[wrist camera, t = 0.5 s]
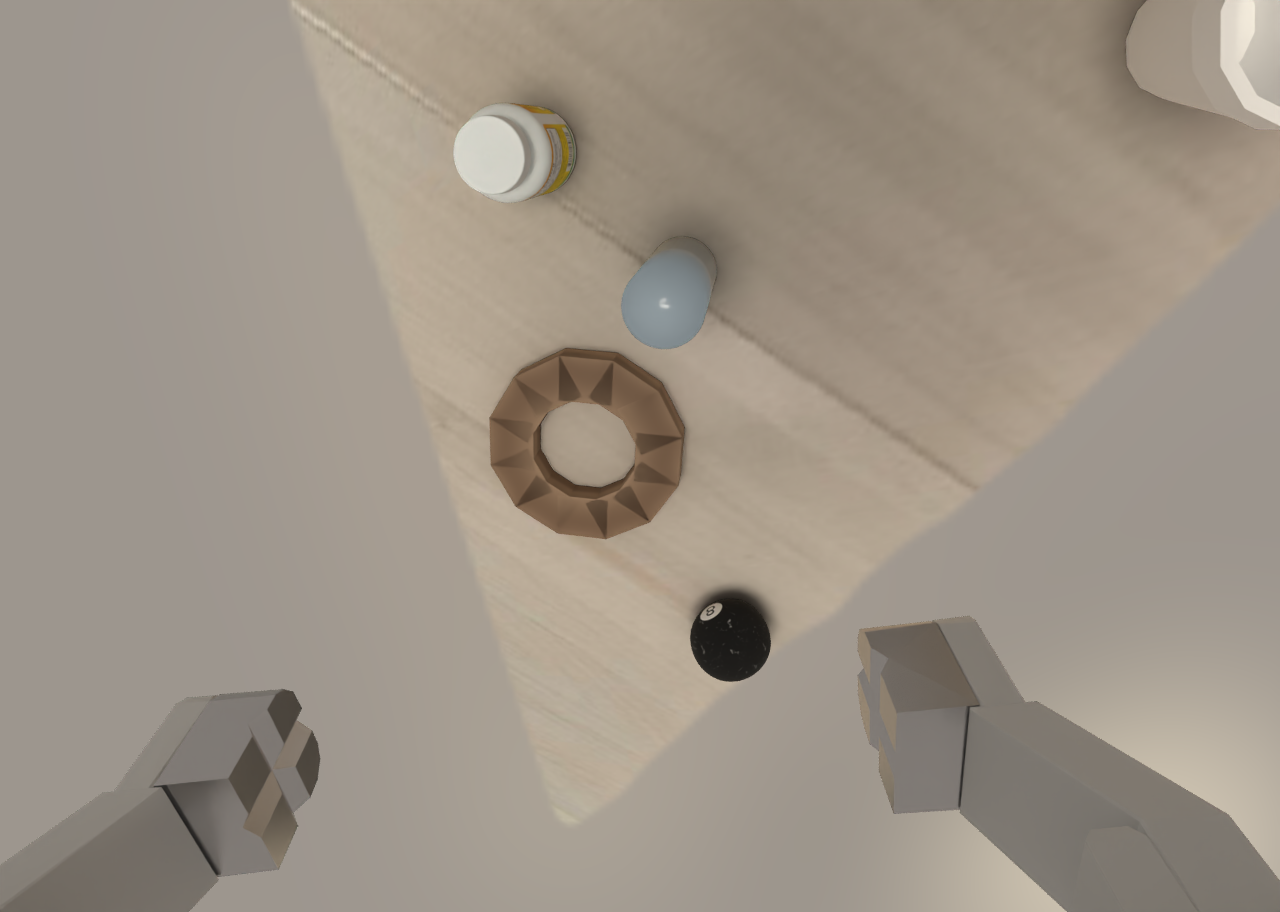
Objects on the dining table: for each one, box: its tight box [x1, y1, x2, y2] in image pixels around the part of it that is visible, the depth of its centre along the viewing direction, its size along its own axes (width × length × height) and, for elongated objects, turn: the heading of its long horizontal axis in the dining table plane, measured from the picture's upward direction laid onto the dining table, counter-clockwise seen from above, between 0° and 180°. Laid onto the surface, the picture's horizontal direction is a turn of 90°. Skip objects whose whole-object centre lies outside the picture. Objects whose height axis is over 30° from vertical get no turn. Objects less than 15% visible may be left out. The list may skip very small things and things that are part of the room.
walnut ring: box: [490, 348, 685, 539], centre depth 57 cm, size 14×14×2 cm
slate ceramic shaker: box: [621, 236, 717, 349], centre depth 47 cm, size 5×5×11 cm
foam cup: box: [1126, 0, 1280, 130], centre depth 37 cm, size 10×9×13 cm
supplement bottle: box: [453, 103, 576, 203], centre depth 46 cm, size 5×5×10 cm
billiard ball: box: [690, 599, 771, 682], centre depth 59 cm, size 6×6×6 cm
